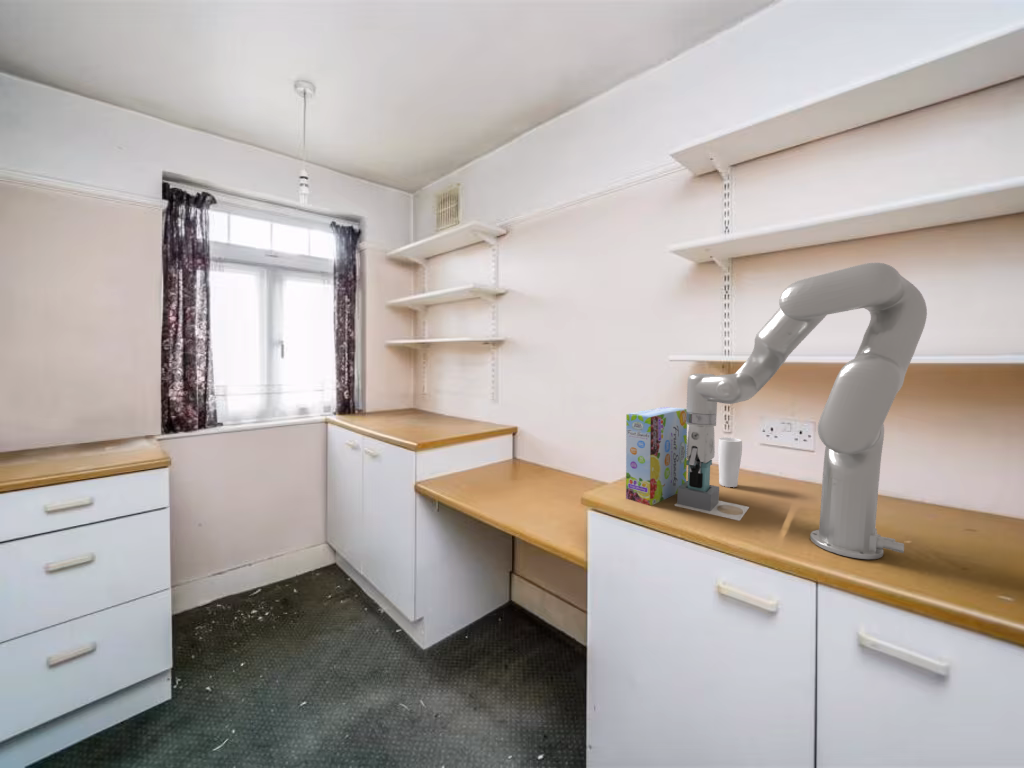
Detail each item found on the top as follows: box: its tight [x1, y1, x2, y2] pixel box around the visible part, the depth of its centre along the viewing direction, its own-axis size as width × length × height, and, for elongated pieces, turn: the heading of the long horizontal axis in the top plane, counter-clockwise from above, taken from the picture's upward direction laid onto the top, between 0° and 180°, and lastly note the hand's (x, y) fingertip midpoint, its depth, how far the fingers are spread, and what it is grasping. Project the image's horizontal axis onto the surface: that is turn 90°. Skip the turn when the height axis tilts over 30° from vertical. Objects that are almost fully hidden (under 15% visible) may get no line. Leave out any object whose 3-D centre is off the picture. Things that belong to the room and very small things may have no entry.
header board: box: [674, 480, 750, 522], centre depth 113 cm, size 16×12×6 cm
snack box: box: [625, 406, 688, 506], centre depth 123 cm, size 22×9×26 cm, turn 132°
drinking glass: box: [717, 436, 743, 488], centre depth 134 cm, size 7×7×15 cm
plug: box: [686, 459, 713, 492], centre depth 115 cm, size 5×5×12 cm
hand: (698, 484), depth 115 cm, fingers closed on plug, 4 cm apart
